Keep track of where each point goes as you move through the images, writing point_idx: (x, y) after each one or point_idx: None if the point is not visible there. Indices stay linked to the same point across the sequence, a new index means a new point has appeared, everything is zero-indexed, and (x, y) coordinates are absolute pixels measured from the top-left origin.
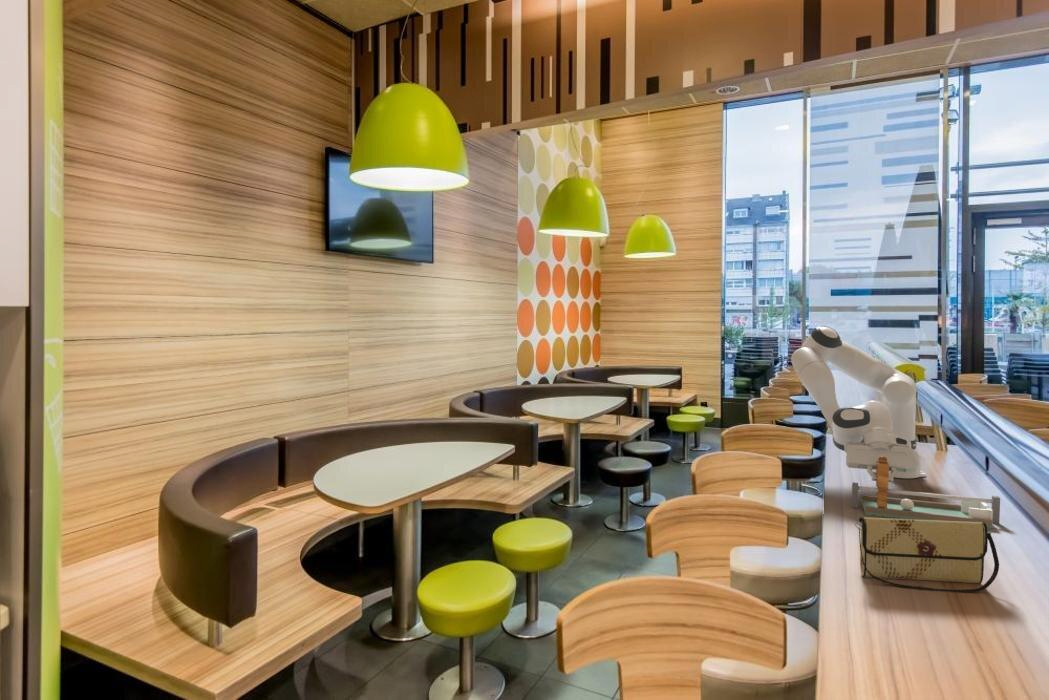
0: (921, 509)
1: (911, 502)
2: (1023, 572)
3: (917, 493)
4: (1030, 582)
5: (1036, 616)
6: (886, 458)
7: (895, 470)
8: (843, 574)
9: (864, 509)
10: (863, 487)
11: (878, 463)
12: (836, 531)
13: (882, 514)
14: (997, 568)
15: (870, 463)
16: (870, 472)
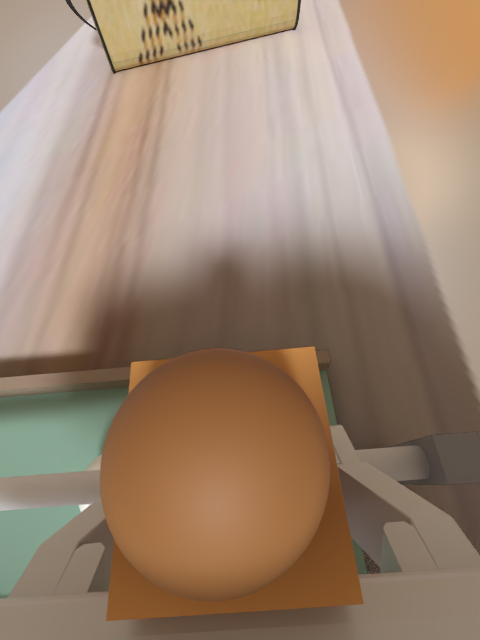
0: (48, 536)
1: (91, 463)
2: (6, 132)
3: (15, 476)
4: (21, 103)
5: (80, 31)
6: (114, 418)
7: (53, 548)
8: (323, 23)
9: (332, 406)
10: (383, 452)
11: (303, 347)
12: (381, 166)
13: None
14: (76, 13)
15: (465, 578)
16: (381, 475)
